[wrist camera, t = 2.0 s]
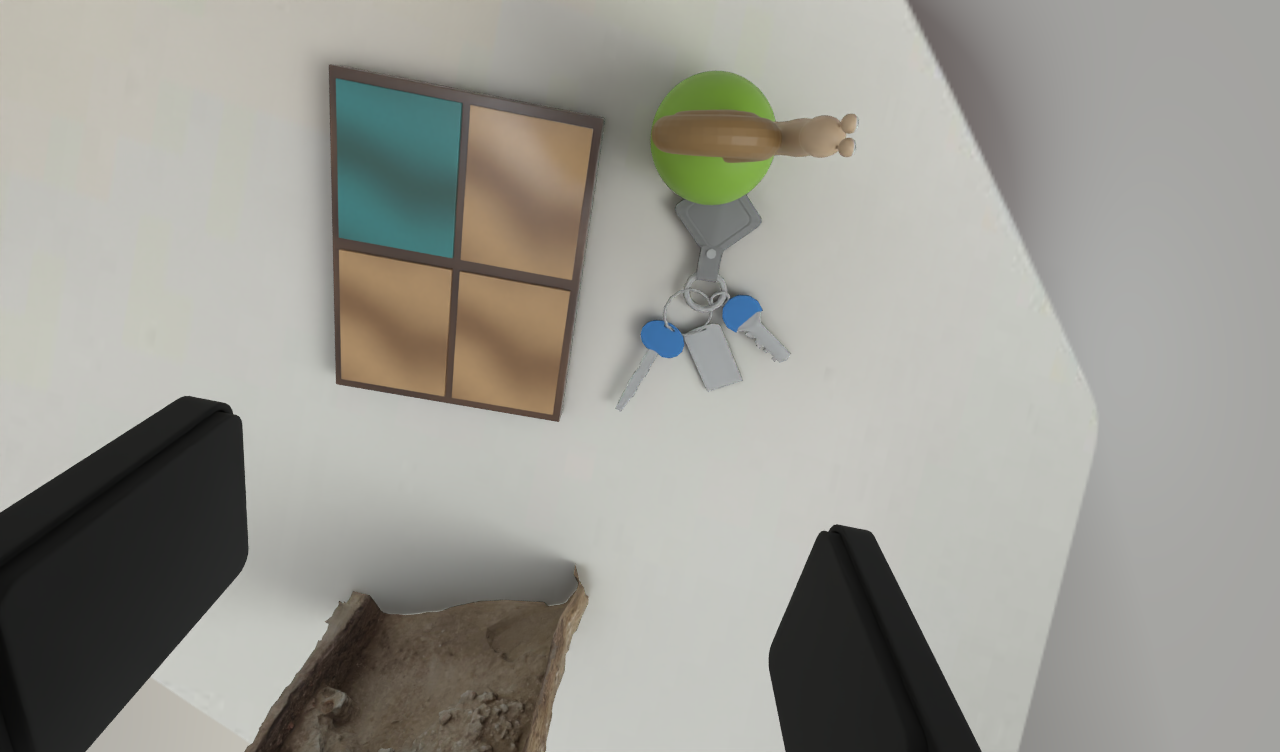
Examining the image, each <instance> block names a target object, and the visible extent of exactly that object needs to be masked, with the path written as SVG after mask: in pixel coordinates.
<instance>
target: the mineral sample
mask: <svg viewBox="0 0 1280 752" xmlns="http://www.w3.org/2000/svg"><path fill="white" fill-rule="evenodd" d="M574 576H575V578H576V580H577V582H578V587H577V590H576V591H575V592H574V593H573V595H572V596H571V597H570V598H569V599H568V601H567V602H566V603H564V604H560V605H554V606H548V605H546V604H545V602H530V601H515V600H497V601H478V602H476V603H474V602H472V603H468V604H464V605H459V606H454V607H451V608H448V609H445V610H443V611H440V612H426V613H422V614H414V615H399V614H387V613H383V612H382V611H381V610H380V609H379V607H378V606H377V604H376V603H375V601H374V600H373V599H372V598H371V596H370V595H366V594H362V593H358V592H355V591H353V593H352V595H351V598H350V599H349V600H348V601H347V603H345V602H344V603H341V602H340V601H339V605H338V607H337V608H336V609H335V611H334V613H333V615H332V617H330V618H329V619H328V620H326V621H325V622H326V623H328V624H329V626H328V629H327V631H326V633H325V634H324V636H323V637H322V640H321V641H320V640H318V643H317V646H316V648H315V650H314V651H313V652H312V654H311V655H310V657H309V658H308V660H307V661H306V662H305V664H304V665H303V667H302V668H301V670H300V671H299V672H298V673H297V674H296V675H295V677H294V679H293V681H292V682H291V684H290V685H289V686H287V687H286V688H285V689H284V691H283V692H282V694H281V696H280V697H279V699H278V700H277V701H276V702H275V704H274V705H273V706H272V707H271V709H270V711H269V713H268V715H267V717H266V719H265V720H264V722H263V723H262V724H261V725H262V726H261V727H260V728H259V732H258V734H257V736H256V738H255V740H254V742H253V743H252V744H251V745H249V746H248V747H247V749H246V750H245V752H545V751H546V740H547V736H548V731H549V726H550V722H551V718H552V706H553V702H554V698H555V695H556V692H557V689H558V687H559V685H560V682H561V679H562V676H563V674H564V671H565V656H566V653H567V652H568V650H569V646H570V642H571V639H572V635H573V634H574V633H575V631H576V630H577V627H578V625H579V622H580V620H581V617H582V615H583V613H584V611H585V609H586V607H587V605H588V596H587V595H586V594H585V591H584V587H583V586H582V584H581V582H580V581H579V577H578V573H577V569H576V565H575V569H574Z"/></svg>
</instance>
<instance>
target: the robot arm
mask: <svg viewBox="0 0 1280 752" xmlns="http://www.w3.org/2000/svg"><path fill="white" fill-rule="evenodd" d="M247 556H248V530H247V510H246V490H245V470H244V450H243V430H242V421H241V419H240V417H239V416H237V415H234V414H233V412H232V409H231V407H230V406H229V405H227V404H226V403H222V402H217V401H212V400H206V399H201V398H196V397H191V396H184V397H181V398H179V399H177V400H176V401H174V402H172V403H171V404H169V405H168V406H166V407H165V408H163V409H162V410H160V411H158V412H157V413H155V414H154V415H152V416H151V417H149V418H147V419H146V420H144V421H143V422H141V423H140V424H138V425H137V426H135V427H133V428H132V429H130V430H129V431H127V432H126V433H124V434H122V435H121V436H119V437H118V438H116V439H115V440H113V441H112V442H110V443H108V444H107V445H105V446H104V447H102V448H101V449H99V450H97V451H96V452H94V453H93V454H91V455H90V456H88V457H87V458H85V459H83V460H82V461H80V462H79V463H77V464H76V465H74V466H72V467H71V468H69V469H68V470H66V471H65V472H63V473H62V474H60V475H58V476H57V477H55V478H54V479H52V480H51V481H49V482H47V483H46V484H44V485H43V486H41V487H40V488H38V489H37V490H35V491H33V492H32V493H30V494H29V495H27V496H26V497H24V498H22V499H21V500H19V501H18V502H16V503H15V504H13V505H12V506H10V507H8V508H7V509H5V510H4V511H2V512H1V513H0V752H85V751H86V750H87V749H88V748H89V747H90V746H91V745H92V744H93V742H94V741H95V740H96V739H97V738H98V737H99V735H100V734H101V733H102V732H103V731H104V730H105V728H106V727H107V726H108V725H109V724H110V723H111V722H112V720H113V719H114V718H115V717H116V716H117V715H118V713H119V712H120V711H121V710H122V709H123V708H124V706H125V705H126V704H127V703H128V702H129V701H130V699H131V698H132V697H133V696H134V695H135V694H136V693H137V691H138V690H139V689H140V688H141V687H142V686H143V685H144V683H145V682H146V681H147V680H148V679H149V678H150V676H151V675H152V674H153V673H154V672H155V671H156V670H157V668H158V667H159V666H160V665H161V664H162V663H163V661H164V660H165V659H166V658H167V657H168V656H169V654H170V653H171V652H172V651H173V650H174V649H175V648H176V646H177V645H178V644H179V643H180V642H181V641H182V639H183V638H184V637H185V636H186V635H187V634H188V633H189V631H190V630H191V629H192V628H193V627H194V626H195V624H196V623H197V622H198V621H199V620H200V619H201V618H202V616H203V615H204V614H205V613H206V612H207V611H208V609H209V608H210V607H211V606H212V605H213V604H214V602H215V601H216V600H217V599H218V598H219V597H220V596H221V594H222V593H223V592H224V591H225V590H226V589H227V587H228V586H229V585H230V584H231V583H232V582H233V581H234V579H235V578H236V577H237V576H238V575H239V573H240V572H241V571H242V569H243V567H244V565H245V562H246V560H247ZM769 671H770V676H771V681H772V686H773V691H774V696H775V701H776V706H777V711H778V716H779V721H780V726H781V731H782V736H783V741H784V746H785V751H786V752H981V749H980V747H979V745H978V743H977V741H976V739H975V737H974V735H973V733H972V731H971V729H970V727H969V725H968V723H967V721H966V719H965V717H964V715H963V713H962V711H961V709H960V707H959V705H958V703H957V701H956V699H955V697H954V695H953V693H952V691H951V689H950V687H949V685H948V683H947V681H946V679H945V677H944V675H943V673H942V671H941V669H940V667H939V665H938V663H937V661H936V659H935V657H934V655H933V653H932V651H931V649H930V647H929V645H928V643H927V641H926V639H925V637H924V635H923V633H922V631H921V629H920V627H919V625H918V623H917V621H916V619H915V617H914V615H913V613H912V611H911V609H910V607H909V605H908V603H907V601H906V599H905V597H904V595H903V593H902V591H901V589H900V587H899V585H898V583H897V581H896V579H895V577H894V575H893V573H892V571H891V569H890V567H889V565H888V563H887V561H886V559H885V557H884V555H883V553H882V551H881V549H880V547H879V545H878V543H877V541H876V539H875V537H874V535H873V534H872V533H871V532H870V531H868V530H863V529H857V528H852V527H847V526H842V525H833V526H832V527H831V528H830V530H829V532H827V531H821V532H820V533H819V535H818V536H817V538H816V541H815V543H814V545H813V548H812V550H811V553H810V555H809V557H808V560H807V562H806V564H805V567H804V569H803V571H802V574H801V576H800V578H799V581H798V583H797V585H796V588H795V590H794V592H793V595H792V597H791V600H790V602H789V604H788V607H787V609H786V611H785V614H784V616H783V618H782V621H781V623H780V625H779V628H778V630H777V632H776V635H775V637H774V639H773V642H772V644H771V647H770V652H769Z"/></svg>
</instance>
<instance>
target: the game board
mask: <svg viewBox="0 0 1280 752" xmlns="http://www.w3.org/2000/svg"><path fill="white" fill-rule="evenodd" d="M329 93H330V137H331V182H332V227H333V271H334V316H335V360H336V384H339V385H345V386H351V387H357V388H362V389H368V390H374V391H380V392H386V393H392V394H398V395H404V396H410V397H415V398H421V399H427V400H433V401H439V402H445V403H451V404H457V405H463V406H469V407H474V408H480V409H486V410H492V411H498V412H504V413H510V414H516V415H522V416H527V417H533V418H539V419H545V420H551V421H557V422H559V421H560V417H561V414H562V408H563V402H564V395H565V388H566V381H567V375H568V368H569V361H570V354H571V348H572V341H573V334H574V327H575V321H576V314H577V307H578V300H579V294H580V287H581V280H582V273H583V267H584V260H585V253H586V246H587V240H588V233H589V226H590V219H591V213H592V206H593V199H594V192H595V186H596V179H597V172H598V165H599V159H600V152H601V145H602V138H603V132H604V125H605V118H603V117H598V116H593V115H588V114H583V113H578V112H573V111H568V110H563V109H558V108H552V107H547V106H542V105H537V104H532V103H527V102H522V101H517V100H512V99H507V98H502V97H497V96H492V95H487V94H482V93H477V92H472V91H467V90H462V89H457V88H452V87H447V86H442V85H437V84H432V83H427V82H421V81H416V80H411V79H406V78H401V77H396V76H391V75H386V74H381V73H376V72H371V71H366V70H361V69H356V68H351V67H346V66H340V65H329Z"/></svg>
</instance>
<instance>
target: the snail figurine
mask: <svg viewBox="0 0 1280 752" xmlns="http://www.w3.org/2000/svg"><path fill="white" fill-rule="evenodd" d="M857 127H858V117H857V116H856V115H855V114H848V115H846V116H844V117H843V119H842V120H841V122H840V121H839V120H838V119H836V118H834V117H832V116H826V115H823V116H817V117H815V118H813V119H808V118H802V119H794V120H791V121H785V122H775V117H774V114H773V111H772V109H771V106H770V104H769V102H768V101H767V99H766V97H765V96H764V95H763V93H762V92H761V91H760V90H759V89H758V88H757V87H756V86H755V85H754V84H753V83H751V82H750V81H748V80H747V79H745V78H743V77H741V76H739V75H736V74H734V73H730V72H725V71H708V72H703V73H699V74H696V75H693V76H691V77H689V78H687V79H685V80H683V81H682V82H680V83H679V84H678V85H676V86H675V87H674V88H673V89H672V90H671V91H670V92H669V93H668V94H667V96H666V97H665V98H664V100H663V101H662V103H661V104H660V106H659V108H658V110H657V112H656V114H655V117H654V120H653V124H652V129H651V152H652V157H653V161H654V164H655V167H656V169H657V171H658V173H659V175H660V177H661V178H662V180H663V181H664V182H665V183H666V185H667V186H668V187H669V188H670V189H671V190H672V191H673V192H675V193H676V194H677V195H679V196H680V197H682V198H684V199H686V200H688V201H691V202H694V203H697V204H703V205H720V204H725V203H729V202H732V201H734V200H737V199H739V198H741V197H742V196H744V195H746V194H747V193H748V192H750V191H751V190H752V189H753V188H754V187H755V186H756V185H757V184H758V183H759V182H760V181H761V180H762V178H763V177H764V176H765V174H766V172H767V171H768V169H769V167H770V165H771V162H772V160H773V157H774V155H787V156H793V157H805V156H810V155H811V156H813V157H818V158H822V157H828V156H831V155H833V154H835V153H836V152H837V151H839V153H840V155H842V156H843V157H850V156H851V155H853V154H854V152H855V149H856V143H855V141H854V140H853V139H852V138H846V133H853V132H855V131H856V129H857Z"/></svg>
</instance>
